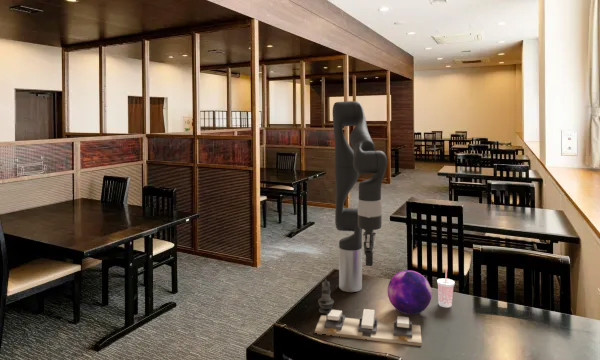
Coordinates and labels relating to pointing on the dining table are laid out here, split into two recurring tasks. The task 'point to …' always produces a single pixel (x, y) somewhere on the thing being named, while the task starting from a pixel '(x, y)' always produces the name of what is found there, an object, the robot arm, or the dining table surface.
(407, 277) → the decorative orb
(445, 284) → the beverage cup
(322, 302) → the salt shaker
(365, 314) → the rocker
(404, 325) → the block
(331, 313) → the block
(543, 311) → the dining table surface
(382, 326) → the switch board
